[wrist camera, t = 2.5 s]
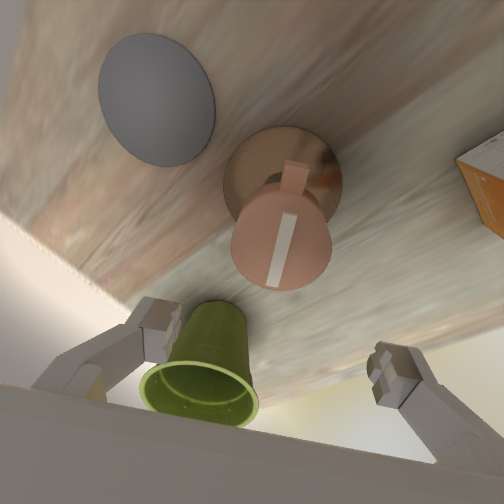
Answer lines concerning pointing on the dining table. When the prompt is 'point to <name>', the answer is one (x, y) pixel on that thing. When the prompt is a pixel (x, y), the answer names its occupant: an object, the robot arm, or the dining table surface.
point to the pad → (156, 100)
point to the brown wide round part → (272, 163)
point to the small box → (486, 180)
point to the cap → (282, 233)
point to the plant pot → (206, 370)
